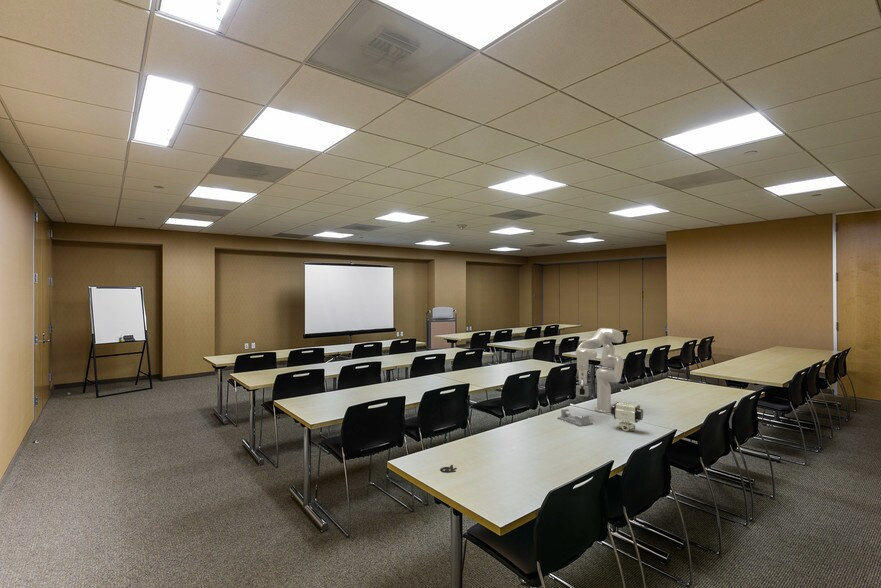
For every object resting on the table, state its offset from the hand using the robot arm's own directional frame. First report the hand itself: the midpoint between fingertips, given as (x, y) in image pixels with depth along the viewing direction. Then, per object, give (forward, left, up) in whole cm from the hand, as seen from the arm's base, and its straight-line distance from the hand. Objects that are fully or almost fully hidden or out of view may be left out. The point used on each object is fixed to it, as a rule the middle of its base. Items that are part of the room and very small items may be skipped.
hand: (582, 393), depth 290 cm
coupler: (0, 0, -1) cm, 1 cm away
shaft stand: (+7, 0, -18) cm, 19 cm away
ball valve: (-8, +29, -18) cm, 35 cm away
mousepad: (+120, +26, -19) cm, 124 cm away
